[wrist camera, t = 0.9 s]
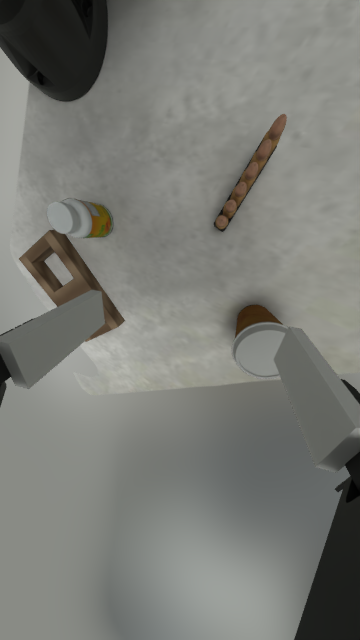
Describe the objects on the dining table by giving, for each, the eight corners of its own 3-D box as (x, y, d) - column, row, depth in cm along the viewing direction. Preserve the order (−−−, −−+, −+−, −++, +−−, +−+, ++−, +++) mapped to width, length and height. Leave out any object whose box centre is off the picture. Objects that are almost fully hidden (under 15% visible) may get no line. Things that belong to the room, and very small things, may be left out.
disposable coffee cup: (235, 343, 39) (240, 385, 29) (223, 304, 36) (224, 335, 25) (283, 334, 36) (309, 377, 26) (275, 290, 33) (300, 319, 22)
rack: (32, 256, 40) (17, 258, 37) (62, 230, 36) (48, 230, 33) (93, 335, 47) (85, 342, 44) (124, 320, 43) (117, 327, 40)
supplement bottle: (102, 243, 35) (64, 247, 27) (82, 218, 34) (35, 214, 26) (119, 223, 33) (84, 221, 25) (98, 196, 32) (53, 184, 23)
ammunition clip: (223, 232, 30) (223, 233, 20) (213, 226, 30) (209, 224, 20) (268, 158, 25) (302, 107, 15) (258, 150, 25) (283, 94, 15)
